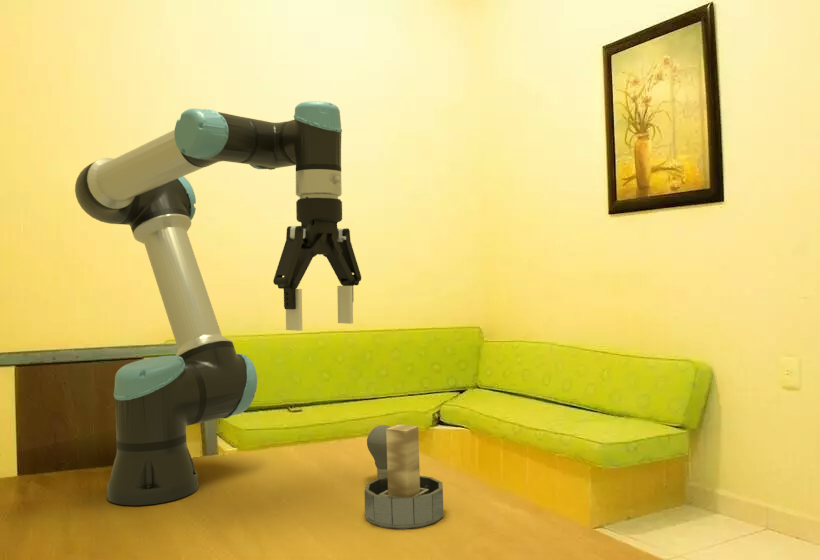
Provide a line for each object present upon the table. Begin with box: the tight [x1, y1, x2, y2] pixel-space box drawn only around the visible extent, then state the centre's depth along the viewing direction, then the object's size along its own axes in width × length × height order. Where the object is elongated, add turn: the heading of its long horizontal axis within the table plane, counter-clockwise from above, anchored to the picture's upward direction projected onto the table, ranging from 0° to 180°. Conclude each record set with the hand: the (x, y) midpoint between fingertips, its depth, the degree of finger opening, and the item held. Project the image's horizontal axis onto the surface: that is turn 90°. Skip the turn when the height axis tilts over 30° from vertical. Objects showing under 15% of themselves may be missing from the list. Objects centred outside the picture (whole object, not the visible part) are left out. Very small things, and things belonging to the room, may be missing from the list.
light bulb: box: [366, 424, 391, 479], centre depth 130 cm, size 6×6×10 cm
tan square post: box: [386, 424, 421, 497], centre depth 111 cm, size 4×4×13 cm
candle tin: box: [363, 475, 444, 530], centre depth 111 cm, size 12×12×4 cm
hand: (321, 326), depth 119 cm, fingers open, 13 cm apart
